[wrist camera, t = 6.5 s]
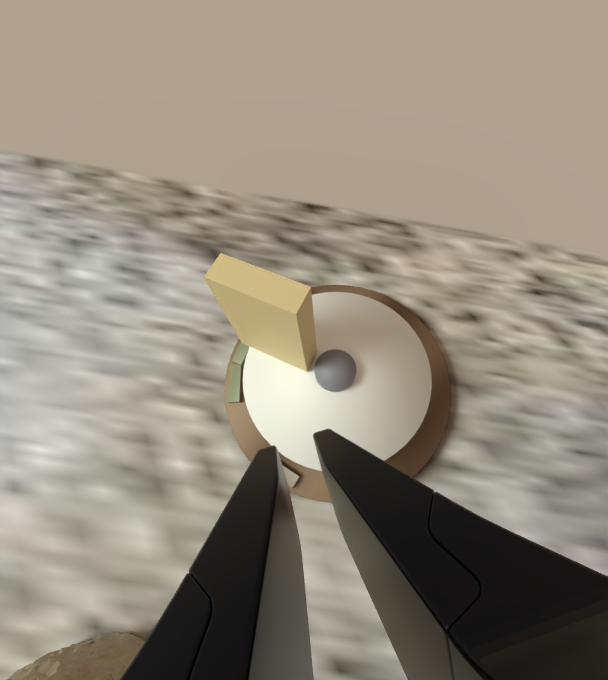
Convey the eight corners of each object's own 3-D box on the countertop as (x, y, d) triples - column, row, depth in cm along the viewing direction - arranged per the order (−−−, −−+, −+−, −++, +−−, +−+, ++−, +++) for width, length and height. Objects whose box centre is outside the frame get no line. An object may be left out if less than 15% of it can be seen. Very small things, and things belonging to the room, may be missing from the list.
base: (481, 349, 23) (488, 342, 22) (381, 558, 19) (384, 561, 18) (302, 262, 27) (301, 253, 26) (184, 418, 23) (177, 415, 22)
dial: (387, 510, 19) (427, 519, 11) (206, 417, 21) (137, 372, 14) (450, 337, 22) (511, 254, 15) (289, 277, 25) (271, 180, 17)
